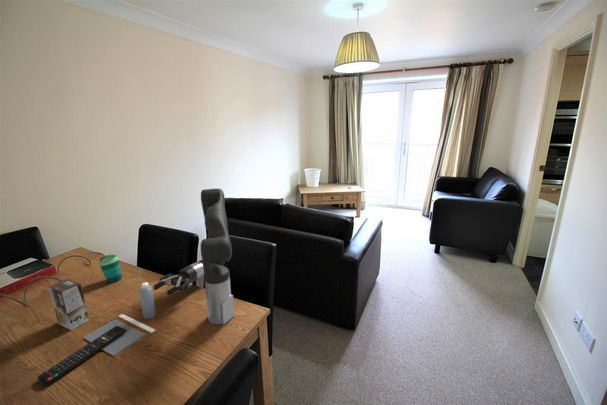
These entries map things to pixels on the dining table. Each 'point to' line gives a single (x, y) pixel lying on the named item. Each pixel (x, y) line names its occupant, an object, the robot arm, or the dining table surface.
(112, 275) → the cup
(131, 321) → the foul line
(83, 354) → the remote control
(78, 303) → the coffee box
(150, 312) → the slim bottle
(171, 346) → the dining table surface
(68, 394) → the dining table surface
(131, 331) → the mat
